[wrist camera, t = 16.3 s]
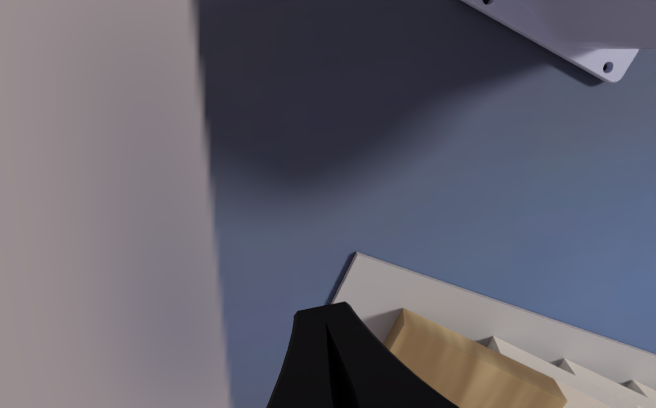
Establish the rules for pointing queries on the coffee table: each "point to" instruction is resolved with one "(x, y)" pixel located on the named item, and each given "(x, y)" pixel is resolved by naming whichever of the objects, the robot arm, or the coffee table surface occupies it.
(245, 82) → the coffee table surface
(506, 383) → the ochre tile
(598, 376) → the domino
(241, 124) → the coffee table surface
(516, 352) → the domino
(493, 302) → the felt strip
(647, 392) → the domino
